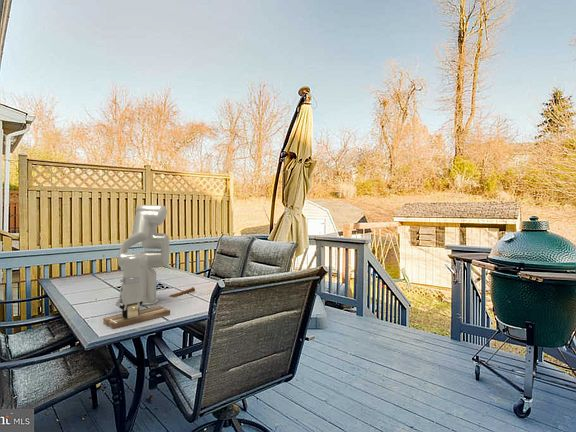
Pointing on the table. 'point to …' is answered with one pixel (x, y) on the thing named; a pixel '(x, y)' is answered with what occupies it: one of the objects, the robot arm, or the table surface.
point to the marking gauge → (132, 310)
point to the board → (143, 316)
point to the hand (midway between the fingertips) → (130, 316)
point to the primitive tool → (183, 292)
